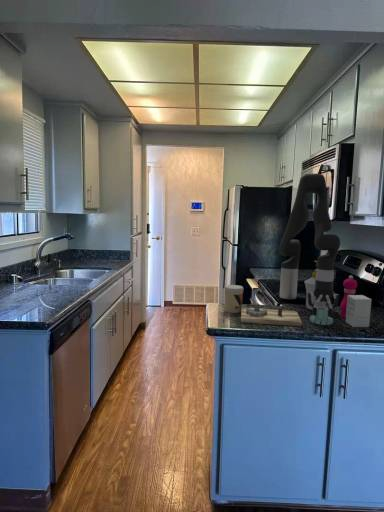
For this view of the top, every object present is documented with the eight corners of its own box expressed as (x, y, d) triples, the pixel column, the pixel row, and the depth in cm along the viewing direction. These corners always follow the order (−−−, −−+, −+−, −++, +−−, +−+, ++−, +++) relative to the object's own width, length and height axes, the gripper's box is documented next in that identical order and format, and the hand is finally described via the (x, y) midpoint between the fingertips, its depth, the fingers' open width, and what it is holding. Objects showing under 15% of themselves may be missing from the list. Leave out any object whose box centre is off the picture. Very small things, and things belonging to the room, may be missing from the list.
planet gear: (308, 317, 163) (309, 305, 163) (329, 318, 162) (330, 306, 161) (312, 324, 154) (313, 310, 153) (334, 325, 153) (336, 312, 152)
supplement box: (360, 321, 159) (363, 294, 157) (369, 327, 151) (372, 299, 150) (344, 321, 158) (347, 294, 157) (352, 327, 151) (355, 298, 149)
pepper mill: (346, 319, 161) (349, 277, 159) (335, 315, 168) (339, 274, 166) (359, 318, 163) (363, 276, 161) (348, 314, 170) (352, 273, 168)
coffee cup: (236, 314, 165) (237, 289, 164) (219, 310, 171) (220, 286, 169) (246, 310, 173) (247, 286, 171) (229, 306, 178) (230, 283, 177)
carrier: (241, 311, 170) (241, 298, 169) (296, 315, 166) (297, 302, 166) (240, 322, 155) (241, 307, 154) (301, 326, 151) (302, 311, 150)
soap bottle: (320, 314, 169) (324, 264, 166) (297, 308, 178) (300, 260, 175) (333, 309, 177) (337, 261, 174) (310, 304, 187) (313, 258, 183)
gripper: (339, 278, 158) (336, 314, 160) (306, 276, 160) (303, 312, 162) (343, 281, 151) (340, 319, 153) (309, 279, 153) (306, 317, 155)
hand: (321, 315), depth 158 cm, fingers closed on planet gear, 5 cm apart
